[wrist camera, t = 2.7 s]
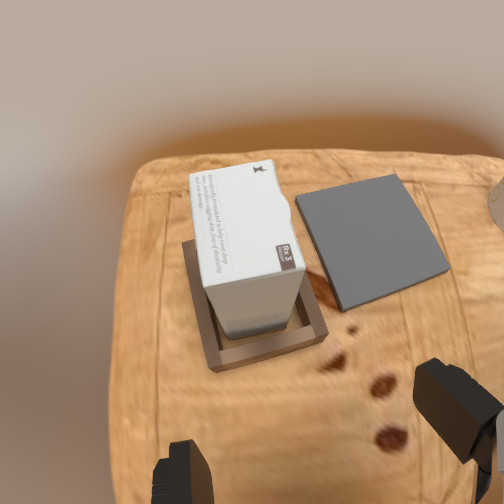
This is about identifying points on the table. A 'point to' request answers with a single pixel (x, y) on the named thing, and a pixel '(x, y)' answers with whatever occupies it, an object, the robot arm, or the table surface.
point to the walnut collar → (256, 350)
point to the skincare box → (246, 247)
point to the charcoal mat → (370, 239)
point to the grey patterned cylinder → (497, 204)
